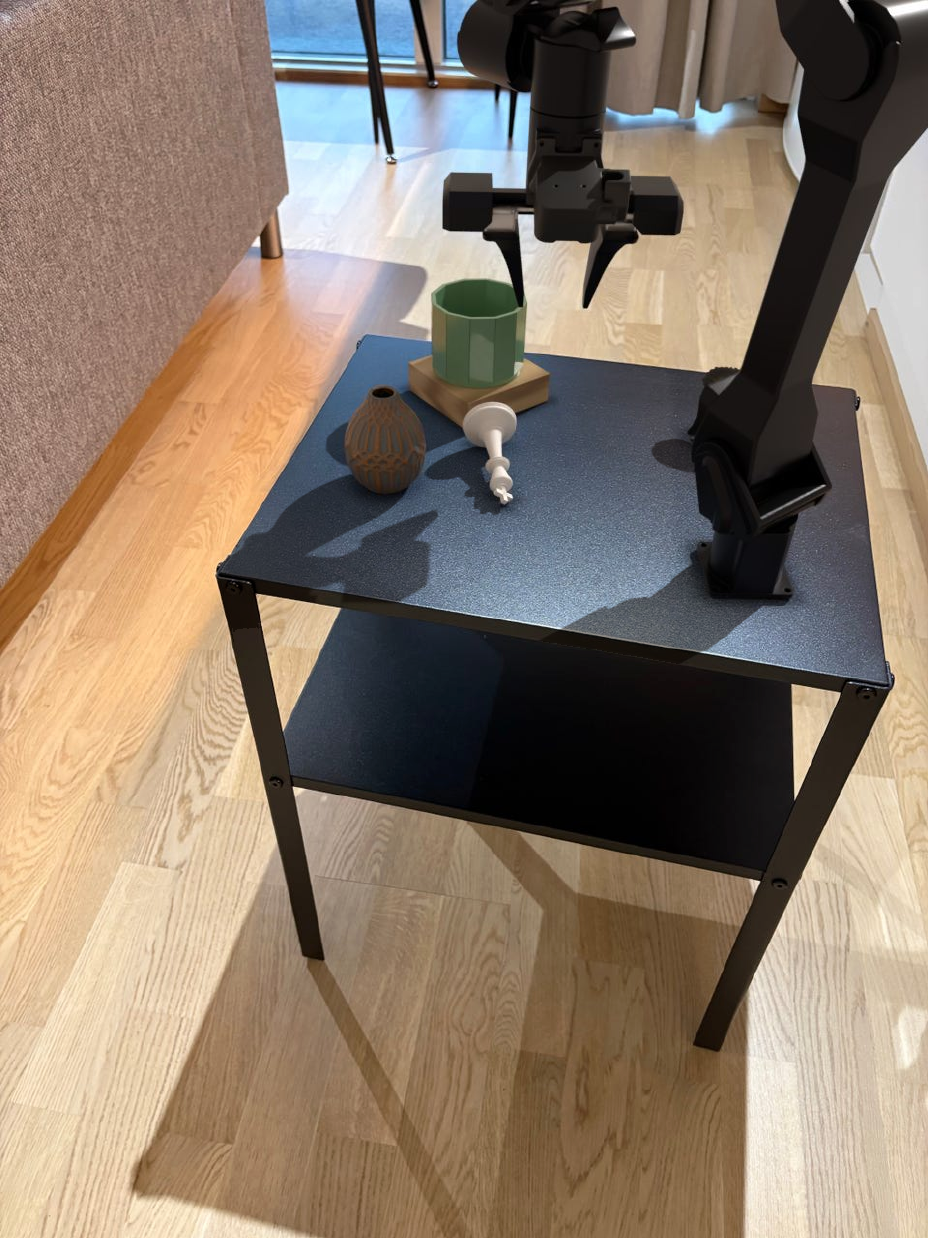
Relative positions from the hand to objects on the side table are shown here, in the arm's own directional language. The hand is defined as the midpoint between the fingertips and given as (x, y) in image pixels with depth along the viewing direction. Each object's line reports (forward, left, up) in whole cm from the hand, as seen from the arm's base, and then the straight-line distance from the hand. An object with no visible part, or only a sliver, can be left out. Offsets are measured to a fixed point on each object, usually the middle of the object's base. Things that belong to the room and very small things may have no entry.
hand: (552, 306), depth 85 cm
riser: (+8, +6, -13) cm, 16 cm away
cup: (+8, +6, -10) cm, 14 cm away
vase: (-8, +14, -13) cm, 21 cm away
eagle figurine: (0, -19, -13) cm, 23 cm away
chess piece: (-1, +5, -10) cm, 12 cm away
